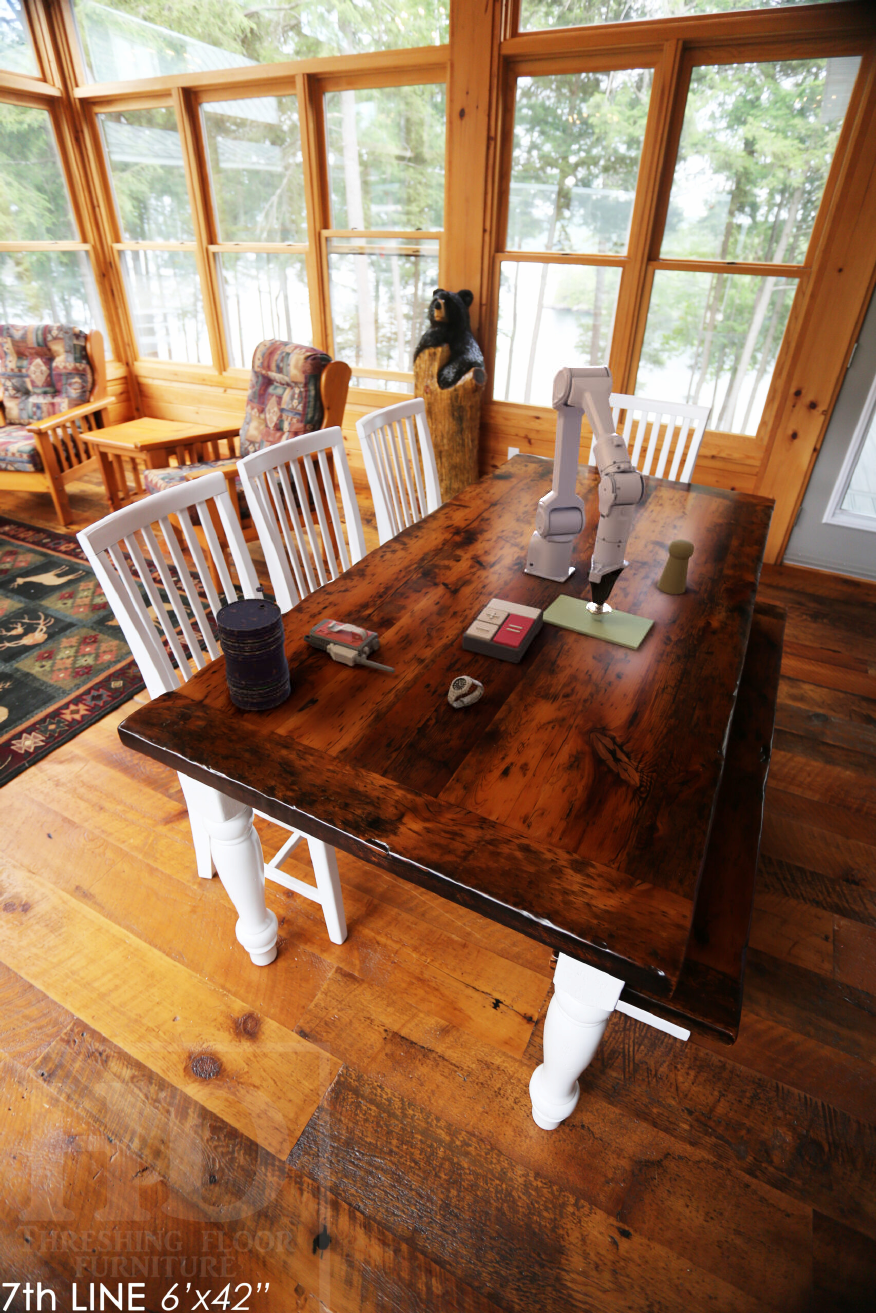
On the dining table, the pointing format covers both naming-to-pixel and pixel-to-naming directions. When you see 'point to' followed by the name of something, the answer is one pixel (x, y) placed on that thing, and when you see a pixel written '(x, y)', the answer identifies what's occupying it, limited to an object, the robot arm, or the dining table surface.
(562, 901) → the dining table surface
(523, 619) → the calculator
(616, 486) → the robot arm
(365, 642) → the walkie-talkie
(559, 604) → the mat
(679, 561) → the olive pawn
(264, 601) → the dark blue cylinder
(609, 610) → the screw
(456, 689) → the wristwatch
